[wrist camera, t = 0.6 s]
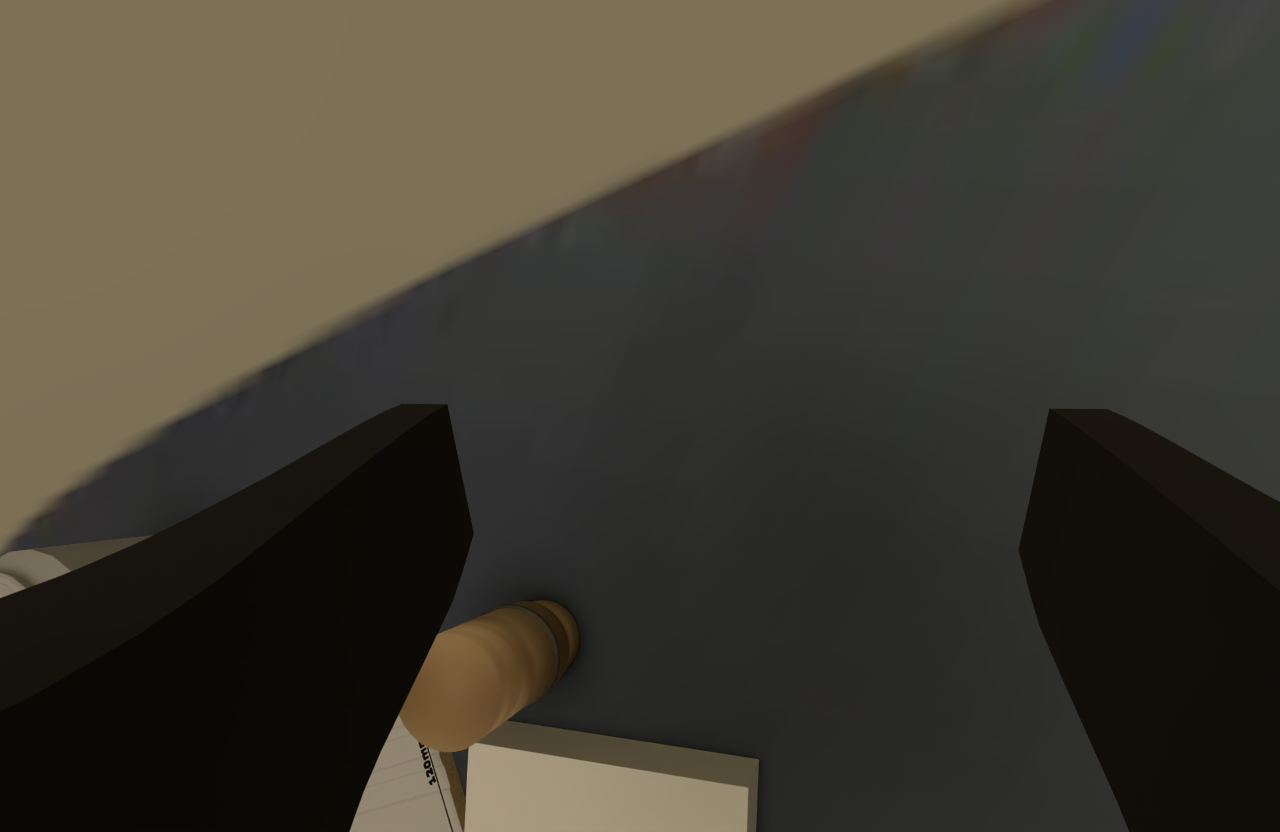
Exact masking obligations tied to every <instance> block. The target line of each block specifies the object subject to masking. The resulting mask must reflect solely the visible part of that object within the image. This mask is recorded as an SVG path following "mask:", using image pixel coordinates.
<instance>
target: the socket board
mask: <svg viewBox="0 0 1280 832" xmlns="http://www.w3.org/2000/svg"><path fill="white" fill-rule="evenodd" d="M758 772H759V759H754V758H748V757H741V756H735V755H728V754H722V753H715V752H709V751H702V750H696V749H689V748H683V747H676V746H670V745H663V744H657V743H650V742H644V741H638V740H631V739H625V738H618V737H612V736H605V735H599V734H592V733H586V732H579V731H573V730H566V729H560V728H553V727H547V726H540V725H534V724H527V723H521V722H514V721H508V720H506V721H505V722H503V723H502V724H501V725H499V726H498V727H497V728H495V729H494V730H493V731H491V732H490V733H488V734H487V735H486V736H484V737H483V738H482V739H480V740H479V741H477V742H476V743H475V744H473V745H472V746H470V747H469V752H468V772H467V791H466V811H465V830H464V832H756V822H757V797H758Z"/></svg>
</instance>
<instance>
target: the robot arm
mask: <svg viewBox="0 0 1280 832" xmlns="http://www.w3.org/2000/svg"><path fill="white" fill-rule="evenodd" d="M473 534H474V533H473V528H472V523H471V518H470V513H469V508H468V503H467V499H466V494H465V489H464V484H463V479H462V474H461V469H460V464H459V460H458V455H457V450H456V445H455V440H454V435H453V430H452V425H451V420H450V416H449V411H448V406H447V404H401V405H398V406H396V407H394V408H391V409H389V410H387V411H385V412H382V413H380V414H378V415H376V416H374V417H373V418H371V419H369V420H367V421H365V422H363V423H361V424H359V425H358V426H356V427H354V428H352V429H350V430H349V431H347V432H345V433H343V434H341V435H340V436H338V437H336V438H334V439H333V440H331V441H329V442H327V443H326V444H324V445H322V446H320V447H319V448H317V449H315V450H313V451H312V452H310V453H308V454H306V455H305V456H303V457H301V458H299V459H298V460H296V461H294V462H292V463H291V464H289V465H287V466H285V467H284V468H282V469H280V470H278V471H276V472H275V473H273V474H271V475H269V476H268V477H266V478H264V479H262V480H260V481H258V482H256V483H255V484H253V485H251V486H249V487H247V488H245V489H243V490H241V491H239V492H237V493H236V494H234V495H232V496H230V497H228V498H226V499H224V500H222V501H220V502H219V503H217V504H215V505H213V506H211V507H209V508H207V509H205V510H203V511H201V512H200V513H198V514H196V515H194V516H192V517H190V518H188V519H186V520H184V521H182V522H180V523H178V524H176V525H174V526H172V527H170V528H168V529H166V530H164V531H162V532H159V533H157V534H155V535H153V536H151V537H149V538H147V539H144V540H142V541H140V542H138V543H136V544H134V545H131V546H129V547H127V548H124V549H122V550H120V551H117V552H115V553H113V554H111V555H108V556H106V557H104V558H101V559H99V560H97V561H94V562H92V563H90V564H88V565H85V566H83V567H80V568H78V569H76V570H73V571H71V572H68V573H66V574H63V575H61V576H58V577H56V578H53V579H50V580H47V581H45V582H42V583H39V584H37V585H34V586H31V587H29V588H26V589H23V590H20V591H18V592H15V593H12V594H10V595H7V596H4V597H2V598H0V832H350V829H351V826H352V823H353V821H354V818H355V815H356V812H357V810H358V807H359V804H360V801H361V798H362V796H363V793H364V790H365V788H366V785H367V783H368V781H369V778H370V776H371V774H372V771H373V769H374V767H375V764H376V762H377V760H378V757H379V755H380V753H381V751H382V749H383V747H384V745H385V742H386V740H387V738H388V736H389V734H390V732H391V730H392V728H393V726H394V724H395V722H396V720H397V717H398V715H399V713H400V711H401V709H402V707H403V705H404V703H405V701H406V699H407V697H408V695H409V693H410V690H411V688H412V686H413V684H414V682H415V680H416V678H417V676H418V674H419V672H420V670H421V668H422V666H423V663H424V661H425V659H426V657H427V655H428V653H429V651H430V649H431V647H432V645H433V642H434V640H435V638H436V636H437V634H438V632H439V630H440V628H441V625H442V623H443V621H444V619H445V617H446V615H447V612H448V610H449V608H450V606H451V604H452V601H453V599H454V596H455V593H456V590H457V587H458V584H459V581H460V578H461V575H462V572H463V568H464V565H465V561H466V558H467V555H468V551H469V548H470V544H471V541H472V537H473ZM1019 553H1020V557H1021V561H1022V565H1023V569H1024V573H1025V576H1026V580H1027V584H1028V588H1029V592H1030V595H1031V599H1032V602H1033V605H1034V609H1035V612H1036V615H1037V619H1038V622H1039V625H1040V628H1041V630H1042V633H1043V635H1044V637H1045V640H1046V642H1047V644H1048V647H1049V649H1050V651H1051V654H1052V656H1053V658H1054V660H1055V663H1056V665H1057V667H1058V670H1059V672H1060V674H1061V677H1062V679H1063V681H1064V683H1065V686H1066V688H1067V690H1068V692H1069V695H1070V697H1071V699H1072V701H1073V704H1074V706H1075V708H1076V710H1077V713H1078V715H1079V717H1080V719H1081V722H1082V724H1083V726H1084V728H1085V730H1086V733H1087V735H1088V737H1089V739H1090V742H1091V744H1092V746H1093V748H1094V751H1095V753H1096V755H1097V757H1098V760H1099V762H1100V764H1101V766H1102V769H1103V771H1104V773H1105V775H1106V777H1107V780H1108V782H1109V784H1110V786H1111V789H1112V791H1113V793H1114V795H1115V798H1116V800H1117V802H1118V804H1119V807H1120V809H1121V812H1122V814H1123V817H1124V819H1125V822H1126V824H1127V827H1128V830H1129V832H1280V502H1279V501H1277V500H1275V499H1273V498H1271V497H1269V496H1268V495H1266V494H1264V493H1262V492H1260V491H1259V490H1257V489H1255V488H1253V487H1251V486H1250V485H1248V484H1246V483H1244V482H1242V481H1241V480H1239V479H1237V478H1235V477H1233V476H1232V475H1230V474H1228V473H1226V472H1225V471H1223V470H1221V469H1219V468H1217V467H1216V466H1214V465H1212V464H1210V463H1209V462H1207V461H1205V460H1203V459H1201V458H1200V457H1198V456H1196V455H1194V454H1193V453H1191V452H1189V451H1187V450H1186V449H1184V448H1182V447H1180V446H1178V445H1177V444H1175V443H1173V442H1171V441H1170V440H1168V439H1166V438H1164V437H1162V436H1160V435H1159V434H1157V433H1155V432H1153V431H1151V430H1149V429H1148V428H1146V427H1144V426H1142V425H1140V424H1138V423H1136V422H1134V421H1132V420H1130V419H1128V418H1126V417H1124V416H1122V415H1119V414H1117V413H1115V412H1112V411H1110V410H1108V409H1049V413H1048V418H1047V423H1046V427H1045V432H1044V436H1043V441H1042V445H1041V450H1040V455H1039V459H1038V464H1037V468H1036V473H1035V477H1034V482H1033V487H1032V491H1031V496H1030V500H1029V505H1028V509H1027V514H1026V519H1025V523H1024V528H1023V532H1022V537H1021V541H1020V546H1019Z"/></svg>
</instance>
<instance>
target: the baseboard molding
mask: <svg viewBox="0 0 1280 832" xmlns="http://www.w3.org/2000/svg"><path fill="white" fill-rule="evenodd" d="M465 811H466V799H465V796H464V792H463V789H462V785H461V782H460V779H459V775H458V772H457V769H456V765H455V762H454V759H453V755H452V752H441V751H436V750H433V749H431V748H428V747H426V746H425V745H423V744H421V743H420V742H419V741H417V740H416V739H415V738H414V737H413V736H412V735H411V734H410V733H409V731H408V730H407V729H406V727H405V726H404V724H403V723H402V721H401V718H400V716H399V715H398V717H397V720H396V722H395V724H394V726H393V728H392V730H391V732H390V734H389V736H388V738H387V740H386V742H385V745H384V747H383V749H382V751H381V753H380V755H379V757H378V760H377V762H376V764H375V767H374V769H373V771H372V774H371V776H370V778H369V781H368V783H367V785H366V788H365V790H364V793H363V796H362V798H361V801H360V804H359V807H358V810H357V812H356V815H355V818H354V821H353V823H352V826H351V829H350V832H464V830H465Z"/></svg>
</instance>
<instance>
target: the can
mask: <svg viewBox="0 0 1280 832" xmlns="http://www.w3.org/2000/svg"><path fill="white" fill-rule="evenodd" d="M151 536H153V535H151ZM151 536H142V537H134V538H125V539H117V540H108V541H99V542H91V543H82V544H73V545H65V546H56V547H47V548H39V549H30V550H22V551H14V552H8V553H7V554H5V555H3V556H1V557H0V598H2V597H4V596H7V595H10V594H12V593H15V592H18V591H20V590H23V589H26V588H29V587H31V586H34V585H37V584H39V583H42V582H45V581H47V580H50V579H53V578H56V577H58V576H61V575H63V574H66V573H68V572H71V571H73V570H76V569H78V568H80V567H83V566H85V565H88V564H90V563H92V562H94V561H97V560H99V559H101V558H104V557H106V556H108V555H111V554H113V553H115V552H117V551H120V550H122V549H124V548H127V547H129V546H131V545H134V544H136V543H138V542H140V541H142V540H144V539H147V538H149V537H151Z"/></svg>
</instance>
